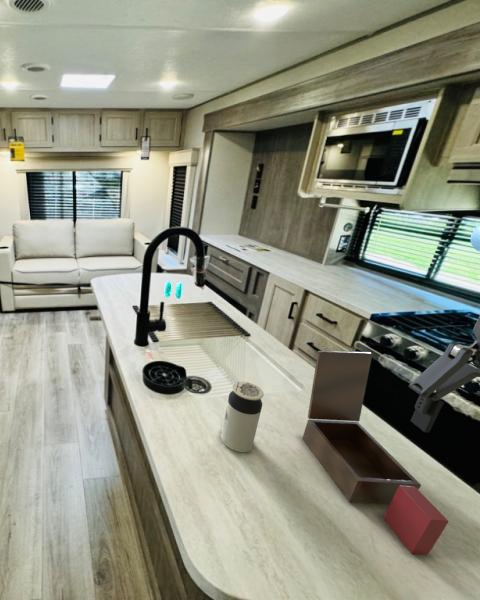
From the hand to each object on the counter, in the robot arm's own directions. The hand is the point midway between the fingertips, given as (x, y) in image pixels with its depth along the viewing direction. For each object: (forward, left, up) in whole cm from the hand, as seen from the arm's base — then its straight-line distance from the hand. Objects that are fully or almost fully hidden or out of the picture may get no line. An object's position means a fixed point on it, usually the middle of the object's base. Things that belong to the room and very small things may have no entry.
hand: (461, 428), depth 55 cm
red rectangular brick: (0, 0, -28) cm, 28 cm away
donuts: (+133, -37, -29) cm, 141 cm away
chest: (+14, -6, -28) cm, 32 cm away
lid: (+24, -11, -11) cm, 29 cm away
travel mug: (+31, +14, -29) cm, 44 cm away
